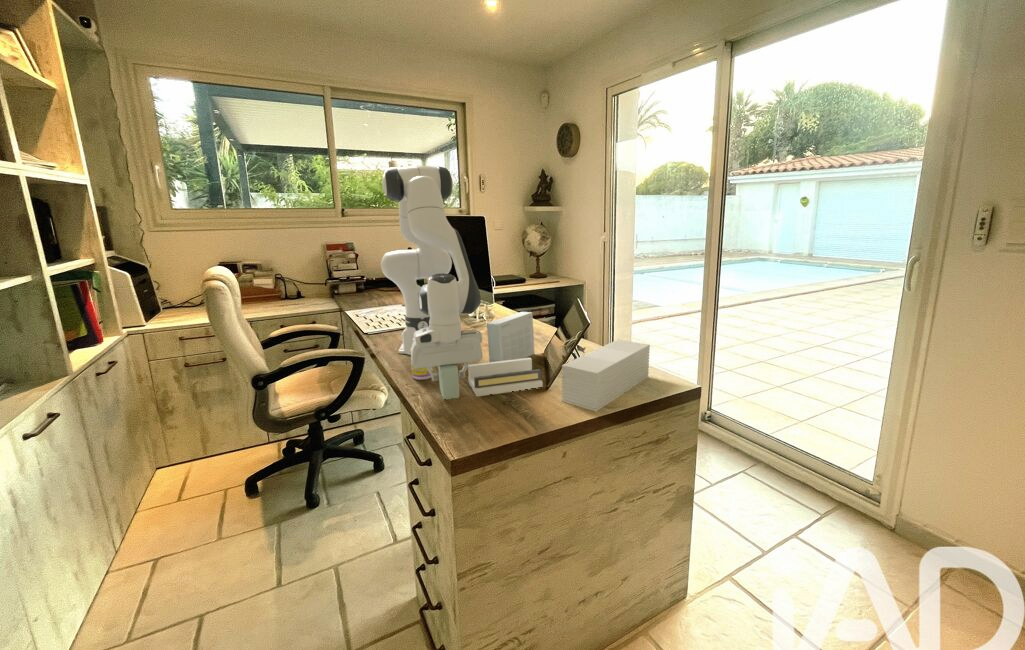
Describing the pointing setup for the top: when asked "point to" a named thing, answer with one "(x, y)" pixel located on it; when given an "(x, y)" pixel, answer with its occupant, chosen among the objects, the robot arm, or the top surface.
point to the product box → (449, 381)
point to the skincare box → (511, 337)
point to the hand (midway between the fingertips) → (448, 378)
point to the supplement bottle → (420, 372)
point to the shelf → (503, 376)
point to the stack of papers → (604, 374)
